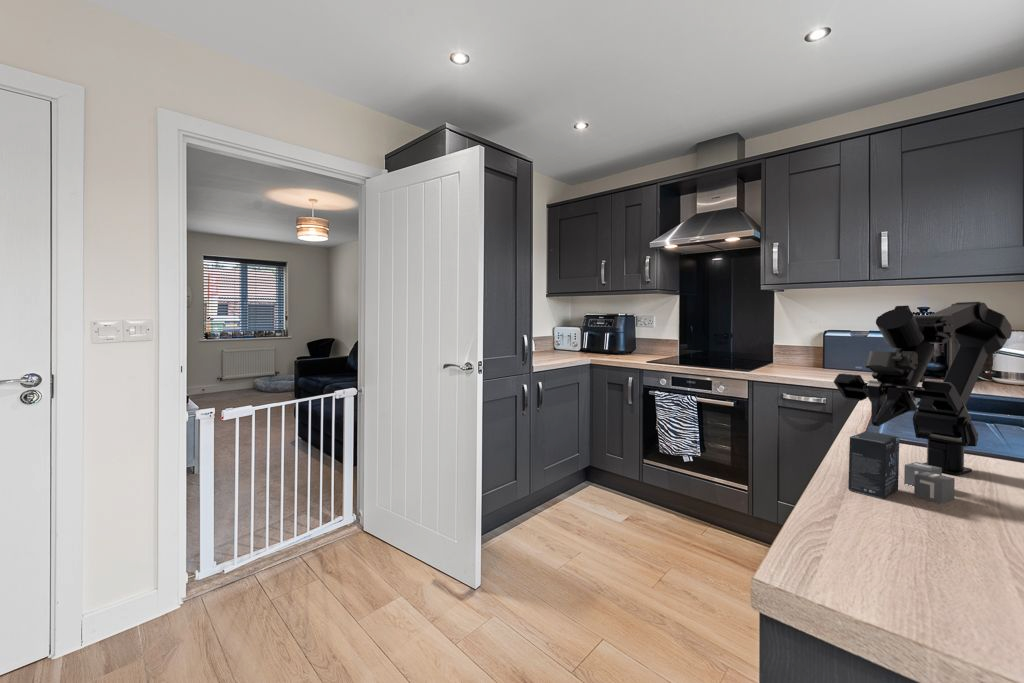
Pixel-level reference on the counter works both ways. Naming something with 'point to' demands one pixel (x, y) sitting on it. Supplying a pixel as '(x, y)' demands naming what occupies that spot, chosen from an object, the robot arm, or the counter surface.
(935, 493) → the marked cube seven
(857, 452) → the box
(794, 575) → the counter surface
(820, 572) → the counter surface
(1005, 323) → the robot arm
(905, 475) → the marked cube one
